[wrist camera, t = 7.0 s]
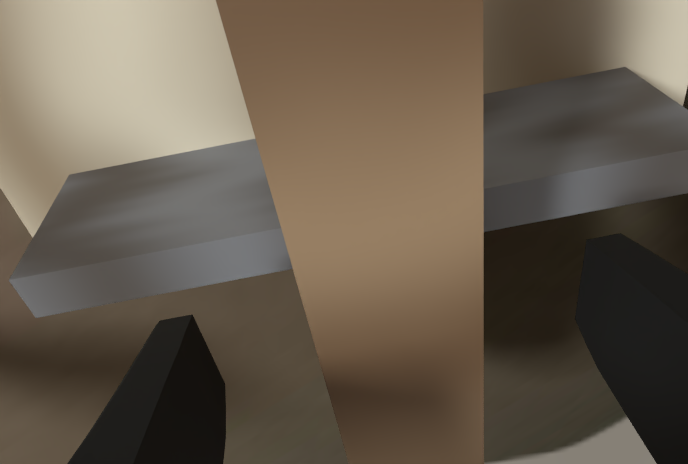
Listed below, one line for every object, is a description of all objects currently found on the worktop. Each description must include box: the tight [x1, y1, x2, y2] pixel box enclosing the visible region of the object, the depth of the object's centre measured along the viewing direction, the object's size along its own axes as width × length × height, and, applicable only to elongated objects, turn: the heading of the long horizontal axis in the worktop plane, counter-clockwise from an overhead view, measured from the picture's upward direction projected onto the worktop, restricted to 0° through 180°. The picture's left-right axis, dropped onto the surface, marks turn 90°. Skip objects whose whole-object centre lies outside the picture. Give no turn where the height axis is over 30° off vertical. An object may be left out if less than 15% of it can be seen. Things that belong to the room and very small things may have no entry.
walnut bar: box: [216, 0, 484, 464], centre depth 11 cm, size 16×3×4 cm, turn 9°
